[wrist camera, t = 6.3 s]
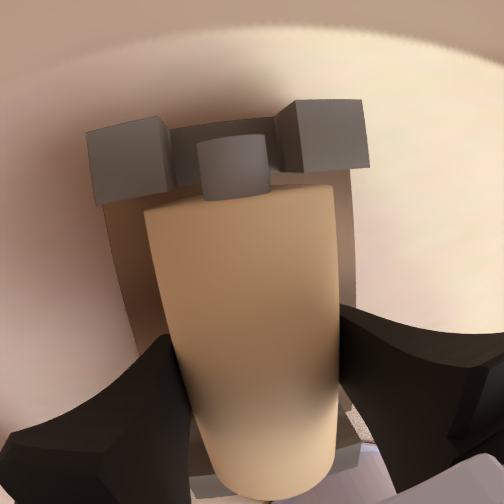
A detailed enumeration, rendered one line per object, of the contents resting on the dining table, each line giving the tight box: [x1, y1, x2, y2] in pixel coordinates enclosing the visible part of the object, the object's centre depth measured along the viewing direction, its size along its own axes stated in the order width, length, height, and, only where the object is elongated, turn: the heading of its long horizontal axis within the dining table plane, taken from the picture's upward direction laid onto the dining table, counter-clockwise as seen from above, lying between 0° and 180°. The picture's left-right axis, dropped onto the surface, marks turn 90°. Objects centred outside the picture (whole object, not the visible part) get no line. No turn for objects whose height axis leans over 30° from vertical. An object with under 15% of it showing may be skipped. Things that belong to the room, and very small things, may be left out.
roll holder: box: [86, 99, 370, 499], centre depth 12 cm, size 15×10×5 cm, turn 7°
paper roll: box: [144, 134, 340, 501], centre depth 10 cm, size 13×5×5 cm, turn 7°
